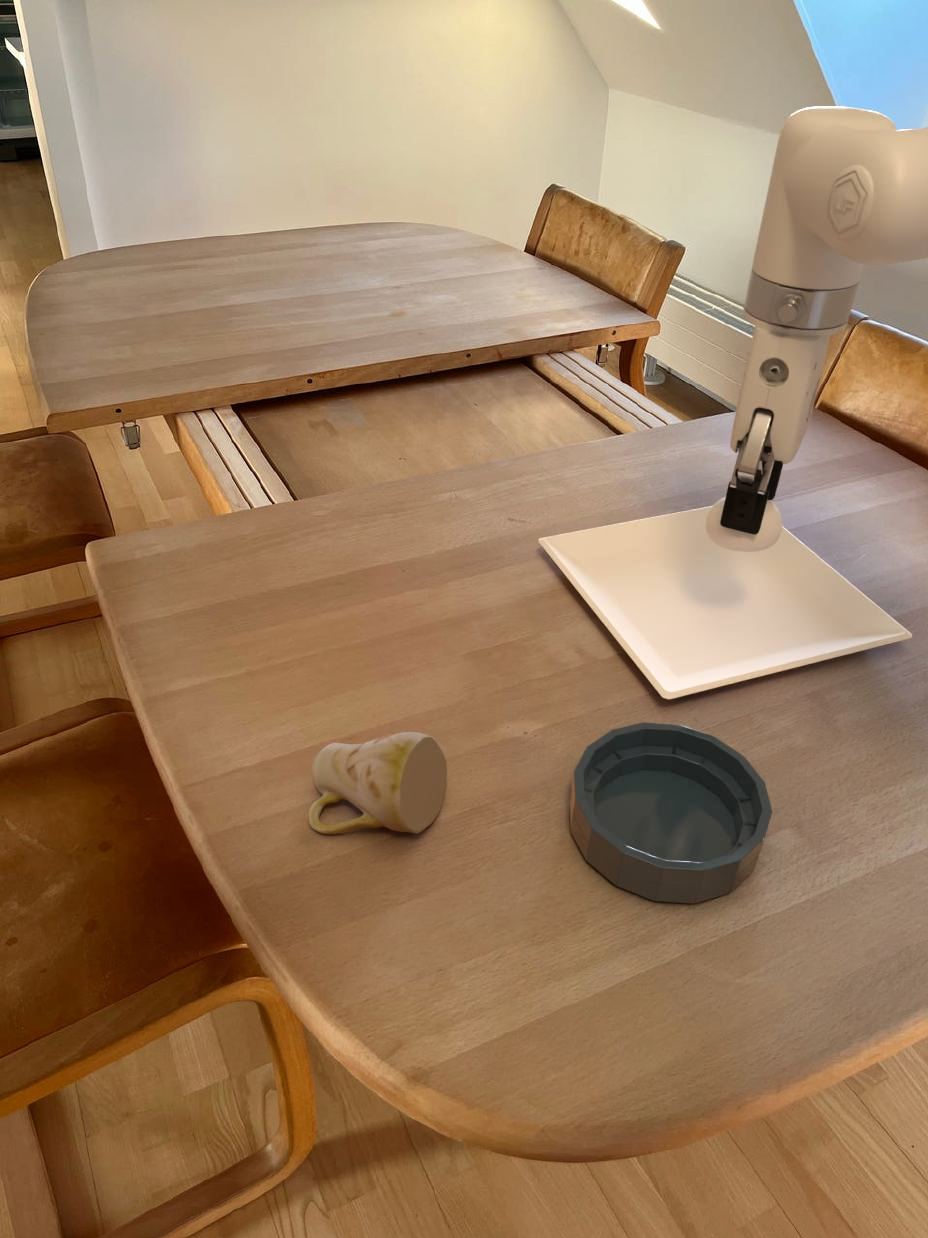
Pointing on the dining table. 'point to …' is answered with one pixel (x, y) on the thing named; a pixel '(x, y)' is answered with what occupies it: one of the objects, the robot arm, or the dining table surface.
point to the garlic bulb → (743, 540)
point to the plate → (715, 602)
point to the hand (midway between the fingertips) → (747, 510)
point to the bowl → (668, 812)
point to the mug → (382, 782)
